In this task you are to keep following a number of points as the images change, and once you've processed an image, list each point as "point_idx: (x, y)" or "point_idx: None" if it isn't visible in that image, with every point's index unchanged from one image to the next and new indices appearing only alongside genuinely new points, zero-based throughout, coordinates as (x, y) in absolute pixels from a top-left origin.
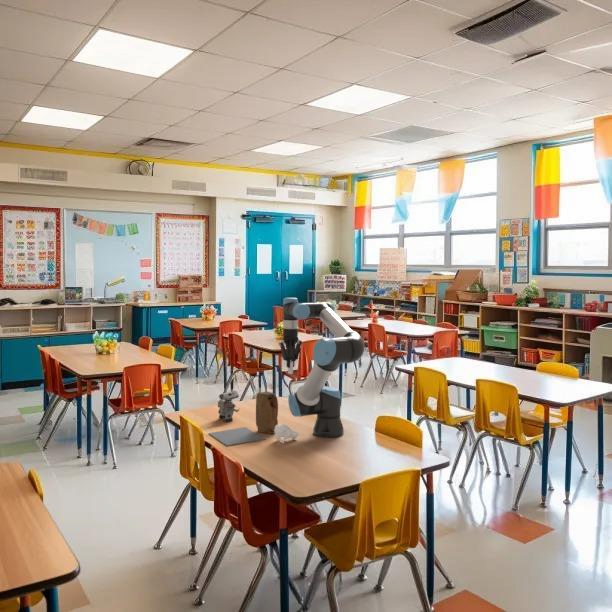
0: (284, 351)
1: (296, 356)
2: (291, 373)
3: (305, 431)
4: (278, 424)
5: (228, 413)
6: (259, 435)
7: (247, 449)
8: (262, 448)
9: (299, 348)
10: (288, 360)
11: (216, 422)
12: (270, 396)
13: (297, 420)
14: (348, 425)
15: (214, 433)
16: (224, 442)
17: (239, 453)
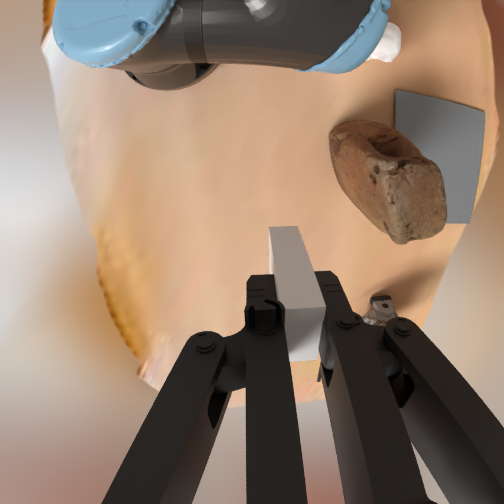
0: (485, 424)
1: (210, 371)
2: (288, 228)
3: (235, 89)
4: (397, 38)
5: (389, 309)
6: (397, 124)
7: (459, 58)
8: (429, 36)
9: (116, 498)
10: (363, 321)
11: (404, 300)
12: (417, 160)
13: (198, 219)
14: (77, 100)
15: (464, 213)
16: (481, 134)
17: (478, 51)
